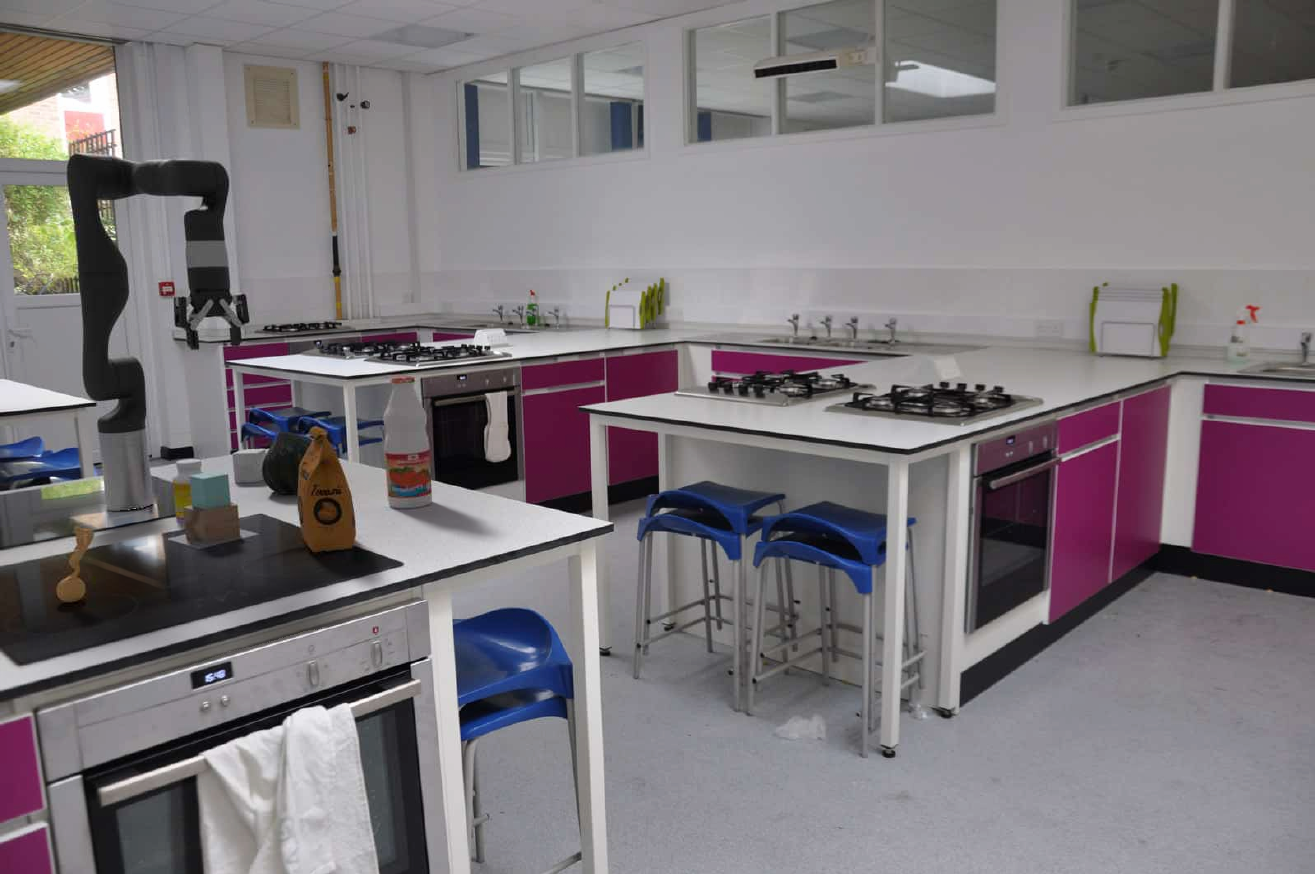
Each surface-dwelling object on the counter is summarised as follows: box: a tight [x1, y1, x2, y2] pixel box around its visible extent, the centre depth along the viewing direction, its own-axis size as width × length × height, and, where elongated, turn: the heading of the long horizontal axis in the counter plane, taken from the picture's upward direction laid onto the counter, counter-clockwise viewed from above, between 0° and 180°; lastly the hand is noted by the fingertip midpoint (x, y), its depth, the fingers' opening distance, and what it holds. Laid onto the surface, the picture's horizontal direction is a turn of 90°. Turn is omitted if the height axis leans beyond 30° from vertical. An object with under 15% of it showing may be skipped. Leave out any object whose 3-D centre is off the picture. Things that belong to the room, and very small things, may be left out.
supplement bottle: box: [172, 458, 206, 522], centre depth 208 cm, size 7×7×13 cm
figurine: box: [56, 526, 95, 603], centre depth 160 cm, size 8×6×12 cm
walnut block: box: [183, 502, 241, 543], centre depth 193 cm, size 7×7×6 cm
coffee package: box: [297, 425, 357, 553], centre depth 188 cm, size 10×12×22 cm
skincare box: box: [231, 448, 267, 484], centre depth 249 cm, size 6×6×7 cm
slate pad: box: [167, 528, 260, 550], centre depth 194 cm, size 12×12×1 cm
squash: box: [262, 431, 313, 496], centre depth 235 cm, size 14×15×15 cm
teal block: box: [189, 470, 232, 510], centre depth 192 cm, size 5×5×6 cm
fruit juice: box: [382, 375, 433, 509], centre depth 219 cm, size 9×9×28 cm
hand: (215, 347), depth 200 cm, fingers open, 8 cm apart
